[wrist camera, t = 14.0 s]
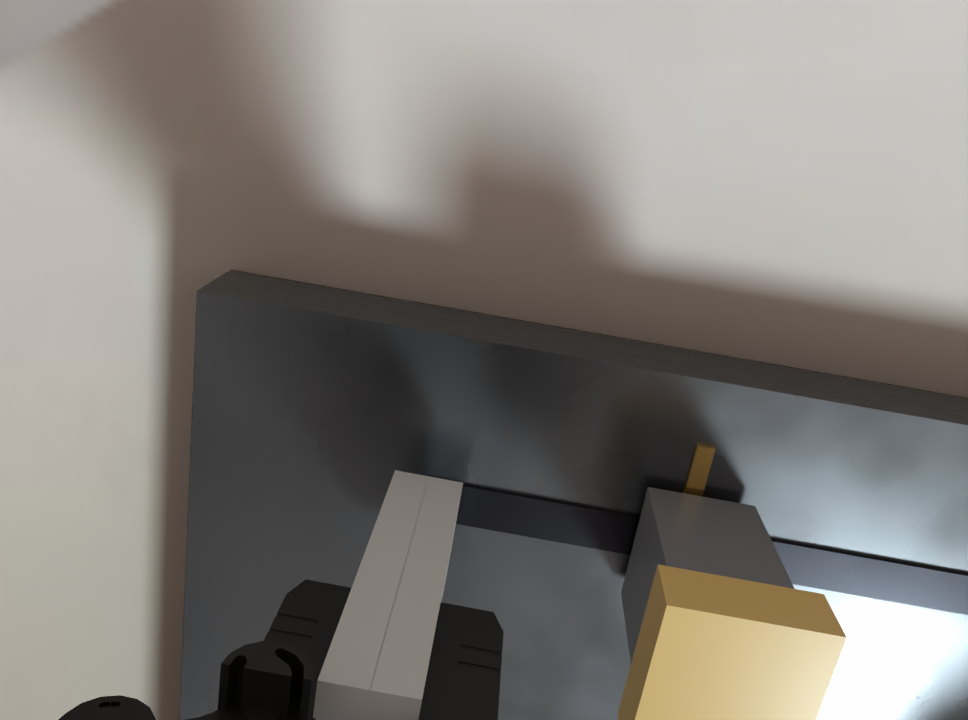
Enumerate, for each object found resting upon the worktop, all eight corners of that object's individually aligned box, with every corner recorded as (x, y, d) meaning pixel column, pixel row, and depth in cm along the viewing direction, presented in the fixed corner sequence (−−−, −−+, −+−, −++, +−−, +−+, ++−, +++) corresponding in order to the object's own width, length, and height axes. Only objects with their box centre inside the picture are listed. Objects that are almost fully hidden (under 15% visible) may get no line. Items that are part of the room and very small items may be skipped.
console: (202, 777, 25) (158, 866, 22) (230, 269, 20) (177, 302, 17) (920, 909, 25) (968, 1017, 22) (1148, 429, 19) (1251, 490, 16)
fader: (605, 600, 19) (622, 762, 15) (637, 472, 18) (666, 605, 14) (732, 623, 19) (789, 792, 15) (772, 496, 18) (846, 637, 14)
